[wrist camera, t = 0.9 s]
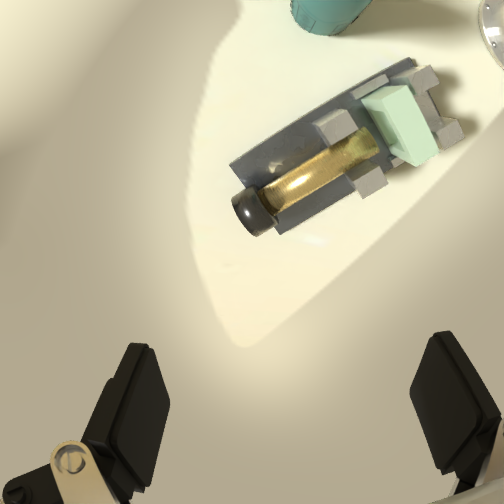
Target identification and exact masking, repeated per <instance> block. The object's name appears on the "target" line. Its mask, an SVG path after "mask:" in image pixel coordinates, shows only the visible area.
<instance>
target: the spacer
mask: <svg viewBox="0 0 504 504" xmlns="http://www.w3.org/2000/svg"><path fill="white" fill-rule="evenodd" d="M361 101H362V103H363V104H364V106H365V108H366V109H367V111H368V113H369V114H370V116H371V118H372V120H373V121H374V123H375V125H376V126H377V128H378V130H379V132H380V134H381V135H382V137H383V139H384V141H385V143H386V145H387V147H388V148H389V150H390V152H391V154H393V155H395V156H397V157H399V158H400V159H402V160H404V161H406V162H408V163H410V164H411V165H413V166H415V167H417V166H419V165H420V164H422V163H424V162H425V161H427V160H429V159H430V158H432V157H434V156H435V155H437V154H439V153H440V151H439V149H438V146H437V144H436V142H435V140H434V137H433V135H432V133H431V131H430V129H429V127H428V125H427V123H426V121H425V119H424V117H423V114H422V113H421V111H420V109H419V107H418V105H417V103H416V101H415V99H414V97H413V95H412V93H411V92H410V90H409V88H408V86H407V85H403V86H387V87H381V88H379V89H377V90H376V91H374V92H372V93H370V94H368V95H367V96H365V97H363V98H361Z"/></svg>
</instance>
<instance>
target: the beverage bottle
mask: <svg viewBox="0 0 504 504" xmlns="http://www.w3.org/2000/svg"><path fill="white" fill-rule="evenodd" d="M371 1H372V0H291V3H292V5H291V4H290V7H291V6H292V7H291V8H292V11H291V12H292V14H293V15H292V16H293V17H294V19H295V20H294V21H296V22H297V23H298V24H299V25H300V26H301V27H302V28H303V30H304V29H305V30H306V31H308V32H309V33H313V34H316V35H323V36H326V35H329V36H330V35H333V36H334V34H335V35H336V34H337V33H338V34H339V33H340V32H341V31H342V30H343V29H346V27H348V25H349V24H350V23H351V24H352V23H353V22H354V21H355V20H356V19H357V18H358V15H361V14H360V13H361V12H362V11H363V10H365V8H366V7H367V5H368V4H369V3H370V2H371ZM369 5H370V4H369ZM363 13H364V11H363ZM352 21H353V22H352ZM341 33H342V32H341Z"/></svg>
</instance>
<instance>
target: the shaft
mask: <svg viewBox="0 0 504 504" xmlns="http://www.w3.org/2000/svg"><path fill="white" fill-rule="evenodd" d="M379 152H380V151H379V147H378V145H377V143H376V141H375V140H374V138H373V136H372V135H371V133H370V132H369V131H368V130H367V129H366V128H365V127H364V126H363V127H361V128H359V129H358V130H356V131H354V132H353V133H351V134H349V135H348V136H346V137H344V138H343V139H341V140H339V141H338V142H336V143H334V144H333V145H331V146H329V147H327V148H326V149H324V150H322V151H321V152H319V153H318V154H316V155H314V156H313V157H311V158H309V159H308V160H306V161H305V162H303V163H301V164H300V165H298V166H297V167H295V168H293V169H292V170H290V171H289V172H287V173H285V174H284V175H282V176H281V177H279V178H278V179H276V180H274V181H273V182H271V183H270V184H268V185H267V186H265V187H263V188H262V189H260V188H259V187H258V186H256V185H255V184H252V185H250V186H249V187H247V188H246V189H244V190H243V191H241V192H240V193H238V194H237V195H235V196H234V197H232V199H231V201H232V205H233V208H234V211H235V213H236V215H237V216H238V218H239V220H240V221H241V223H242V224H243V225H244V227H245V228H246V229H247V230H248V231H249V232H250V233H251V234H252V235H253V236H255V237H258V236H259V235H261V234H263V233H264V232H266V231H268V230H269V229H271V228H273V227H274V226H276V225H277V224H279V220H278V217H277V214H278V213H280V212H282V211H283V210H285V209H286V208H288V207H290V206H291V205H293V204H295V203H296V202H298V201H299V200H301V199H303V198H304V197H306V196H308V195H309V194H311V193H312V192H314V191H316V190H317V189H319V188H321V187H322V186H324V185H326V184H327V183H329V182H331V181H332V180H334V179H336V178H337V177H339V176H340V175H342V174H344V173H345V172H347V171H349V170H350V169H352V168H354V167H355V166H357V165H359V164H360V163H362V162H364V161H365V160H367V159H369V158H370V157H372V156H374V155H376V154H377V153H379Z"/></svg>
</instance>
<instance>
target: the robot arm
mask: <svg viewBox="0 0 504 504" xmlns="http://www.w3.org/2000/svg"><path fill="white" fill-rule="evenodd" d="M478 17H479V25H480V30H481V33H482V36H483V39H484V42H485V44H486V46H487V48H488V50H489V51H490V53H491V55H492V57H493V58H494V59H495V60H496V62H497V63H498V64H499V65H500V66H501V67H502V68H503V69H504V0H482V1H481V3H480V7H479V14H478ZM410 398H411V400H412V403H413V405H414V408H415V410H416V413H417V416H418V418H419V421H420V423H421V426H422V429H423V432H424V434H425V437H426V440H427V443H428V446H429V448H430V451H431V454H432V457H433V460H434V463H435V466H436V468H437V469H440V470H441V473H442V475H445V474H448V473H451V472H453V471H455V473H456V476H457V477H456V480H455V482H454V485H453V487H452V489H451V491H450V494H449V496H448V497H447V498H444V499H441V500H439V501H435V502H432V503H429V504H504V418H503V419H502V418H501V413H500V411H499V409H498V407H497V405H496V403H495V402H494V400H493V398H492V396H491V395H490V393H489V392H488V389H487V388H486V386H485V384H484V383H483V381H482V379H481V378H480V376H479V374H478V373H477V371H476V369H475V368H474V366H473V364H472V363H471V361H470V360H469V358H468V356H467V355H466V353H465V352H464V350H463V349H462V347H461V346H460V344H459V342H458V341H457V339H456V338H455V336H454V335H453V333H452V332H450V331H442V332H437V333H434V334H433V336H432V337H431V338H430V339H429V341H428V343H427V346H426V349H425V352H424V354H423V357H422V360H421V363H420V365H419V368H418V370H417V372H416V375H415V378H414V380H413V382H412V385H411V387H410ZM169 408H170V399H169V395H168V393H167V390H166V387H165V384H164V381H163V378H162V375H161V371H160V368H159V366H158V362H157V359H156V355H155V352H154V350H153V349H152V348H149V346H148V345H147V344H143V343H130V344H129V345H128V347H127V350H126V352H125V354H124V356H123V358H122V360H121V362H120V364H119V367H118V369H117V371H116V373H115V375H114V378H110V379H109V380H108V381H107V383H106V385H105V387H104V389H103V391H102V394H101V395H100V398H99V400H98V402H97V404H96V407H95V409H94V411H93V413H92V416H91V418H90V421H89V423H88V425H87V427H86V430H85V432H84V434H83V437H82V439H81V441H80V442H78V441H71V440H70V441H66V442H63V443H61V444H59V445H58V446H57V447H56V448H55V449H54V450H53V452H52V454H51V458H50V463H49V464H47V465H45V466H42V467H40V468H38V469H35V470H33V471H31V472H28V473H26V474H24V475H21V476H18V477H16V478H13V479H12V480H10V481H9V482H8V483H7V484H6V485H5V487H4V489H3V494H2V497H3V498H2V499H1V500H0V504H133V503H132V501H131V500H130V499H132V496H133V492H134V491H136V492H140V493H144V491H145V487H149V486H150V484H151V481H152V477H153V472H154V468H155V464H156V460H157V456H158V452H159V448H160V444H161V440H162V436H163V432H164V428H165V424H166V420H167V416H168V412H169Z"/></svg>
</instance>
